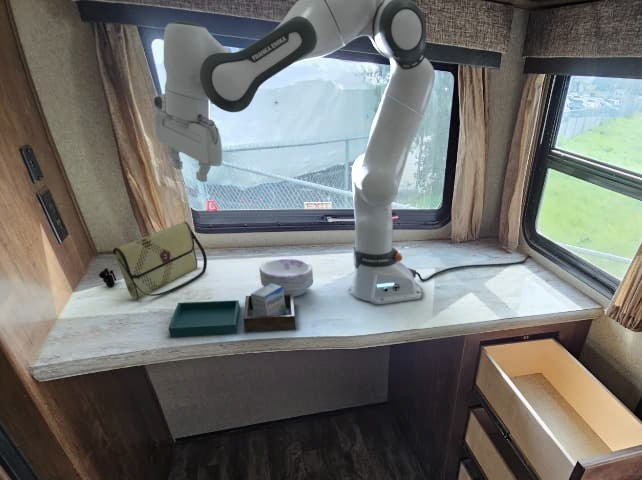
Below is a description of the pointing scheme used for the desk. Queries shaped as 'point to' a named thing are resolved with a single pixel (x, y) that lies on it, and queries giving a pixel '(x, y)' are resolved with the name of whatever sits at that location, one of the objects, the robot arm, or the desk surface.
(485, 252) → the desk surface
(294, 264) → the paper bowls
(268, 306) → the medicine box
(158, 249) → the clutch purse
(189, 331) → the tray
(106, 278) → the wireless earbuds
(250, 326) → the wooden floating shelf
